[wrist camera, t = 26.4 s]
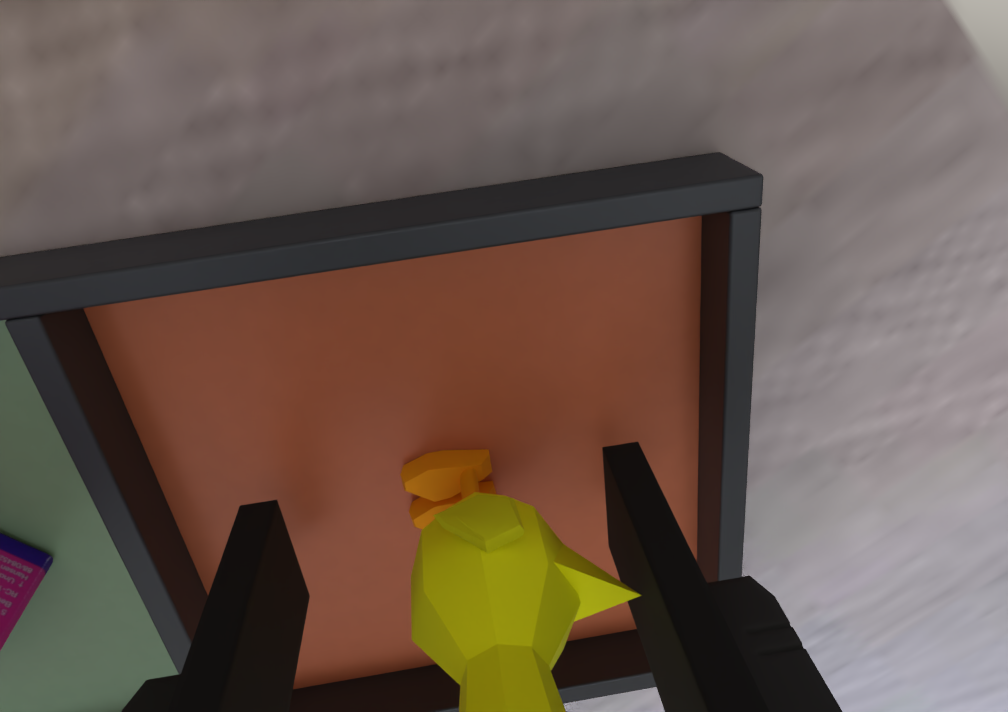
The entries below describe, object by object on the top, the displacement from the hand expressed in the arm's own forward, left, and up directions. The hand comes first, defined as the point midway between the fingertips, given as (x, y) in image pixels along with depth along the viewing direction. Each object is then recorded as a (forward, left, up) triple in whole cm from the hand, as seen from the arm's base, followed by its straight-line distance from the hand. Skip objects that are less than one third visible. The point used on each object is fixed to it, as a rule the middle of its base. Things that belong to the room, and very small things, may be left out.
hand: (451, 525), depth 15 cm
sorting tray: (-7, 0, -2) cm, 7 cm away
